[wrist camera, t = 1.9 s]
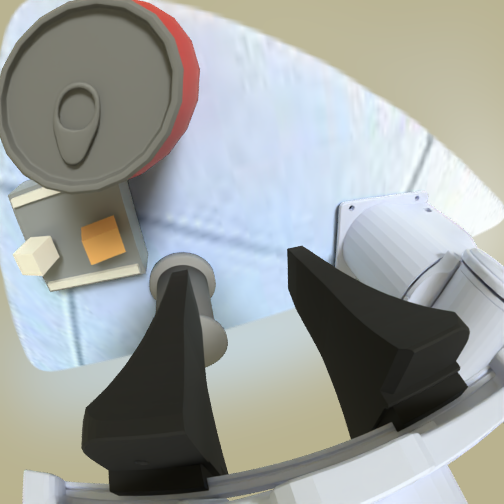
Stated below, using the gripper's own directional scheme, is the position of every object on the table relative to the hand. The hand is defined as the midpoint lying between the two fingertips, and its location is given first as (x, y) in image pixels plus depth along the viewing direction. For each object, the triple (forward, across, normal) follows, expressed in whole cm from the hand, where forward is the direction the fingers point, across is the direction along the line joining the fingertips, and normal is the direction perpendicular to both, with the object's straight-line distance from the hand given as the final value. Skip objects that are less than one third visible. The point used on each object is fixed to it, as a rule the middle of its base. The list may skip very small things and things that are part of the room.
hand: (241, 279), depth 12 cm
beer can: (+11, +4, -8) cm, 14 cm away
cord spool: (+10, +4, +7) cm, 13 cm away
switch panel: (+10, +10, 0) cm, 14 cm away
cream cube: (+8, +12, 0) cm, 14 cm away
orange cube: (+8, +8, 0) cm, 11 cm away
